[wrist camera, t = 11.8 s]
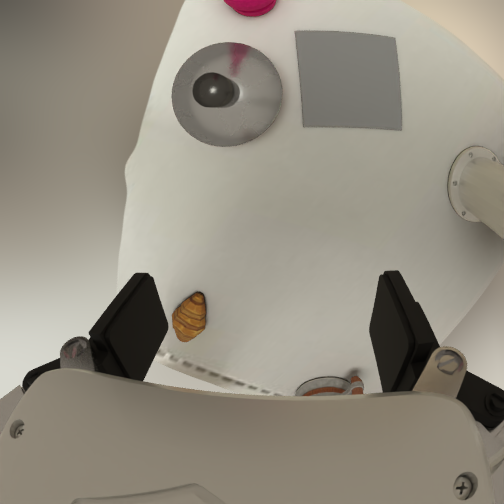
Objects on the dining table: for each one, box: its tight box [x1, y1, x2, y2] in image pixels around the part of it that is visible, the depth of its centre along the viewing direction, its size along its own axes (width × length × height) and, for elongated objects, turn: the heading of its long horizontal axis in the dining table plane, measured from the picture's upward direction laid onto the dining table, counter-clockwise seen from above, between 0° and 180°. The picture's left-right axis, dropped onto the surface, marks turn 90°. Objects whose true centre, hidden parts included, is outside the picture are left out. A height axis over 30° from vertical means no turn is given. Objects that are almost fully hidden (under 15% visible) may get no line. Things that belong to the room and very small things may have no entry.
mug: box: [296, 376, 364, 396], centre depth 53 cm, size 14×19×15 cm
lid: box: [172, 42, 282, 147], centre depth 26 cm, size 13×13×7 cm
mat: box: [295, 31, 402, 130], centre depth 30 cm, size 14×14×1 cm
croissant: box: [172, 292, 206, 342], centre depth 51 cm, size 14×7×5 cm, turn 158°
